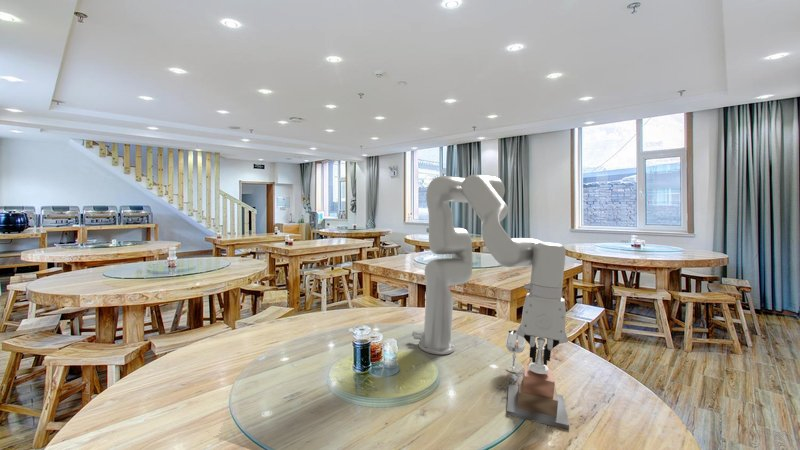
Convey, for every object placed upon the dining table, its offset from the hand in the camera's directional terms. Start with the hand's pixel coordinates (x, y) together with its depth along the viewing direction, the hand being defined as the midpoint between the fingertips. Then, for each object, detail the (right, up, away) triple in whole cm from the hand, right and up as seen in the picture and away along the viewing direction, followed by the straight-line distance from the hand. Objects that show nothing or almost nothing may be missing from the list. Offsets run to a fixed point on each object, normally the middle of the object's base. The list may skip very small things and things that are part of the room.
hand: (539, 361), depth 92 cm
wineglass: (0, -11, +21) cm, 23 cm away
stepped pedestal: (-1, -12, +1) cm, 12 cm away
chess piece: (0, -2, 0) cm, 2 cm away
